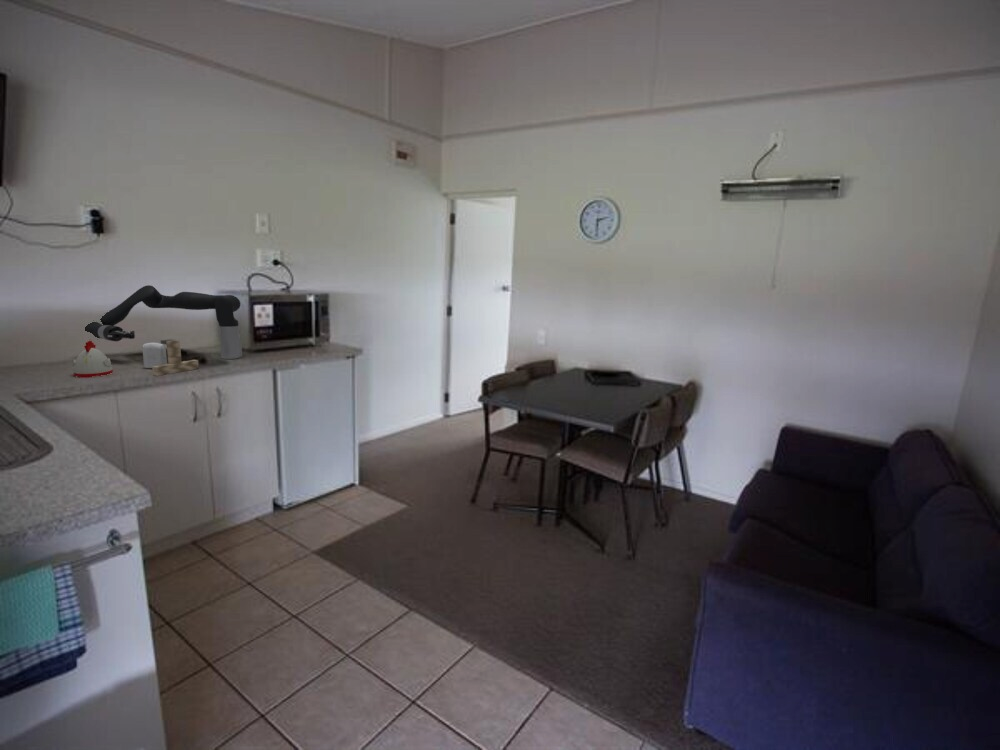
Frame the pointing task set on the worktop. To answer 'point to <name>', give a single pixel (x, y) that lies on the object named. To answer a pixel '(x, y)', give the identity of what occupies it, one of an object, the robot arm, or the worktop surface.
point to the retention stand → (174, 360)
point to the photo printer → (154, 354)
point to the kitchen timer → (91, 362)
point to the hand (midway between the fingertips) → (132, 336)
